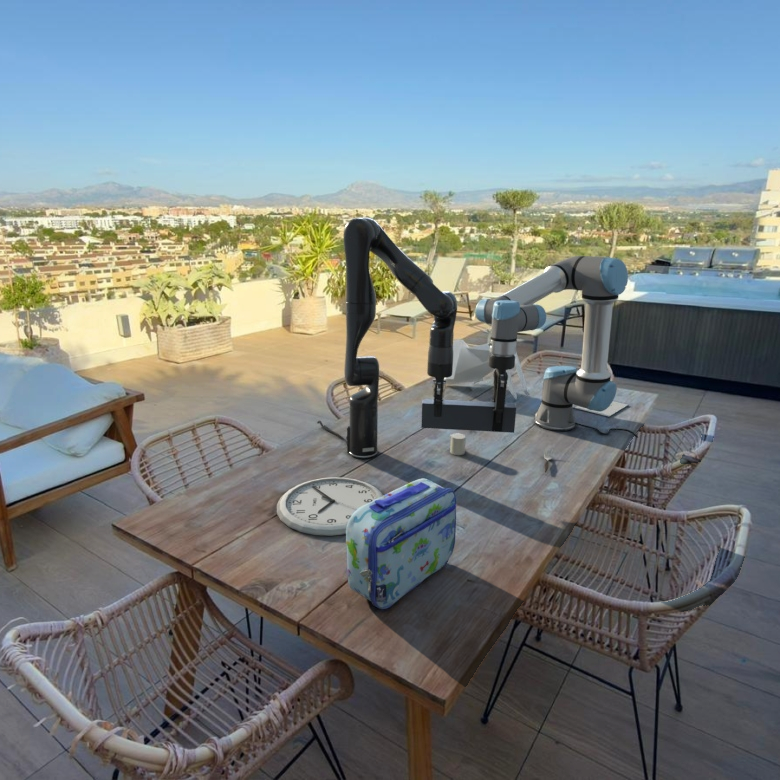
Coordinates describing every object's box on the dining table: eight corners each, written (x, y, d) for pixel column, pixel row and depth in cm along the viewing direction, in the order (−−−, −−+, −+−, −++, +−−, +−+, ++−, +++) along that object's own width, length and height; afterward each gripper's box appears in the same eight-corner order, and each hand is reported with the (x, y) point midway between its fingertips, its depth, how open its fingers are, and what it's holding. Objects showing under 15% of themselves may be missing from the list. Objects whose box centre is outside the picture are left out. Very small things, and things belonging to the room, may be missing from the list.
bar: (512, 427, 162) (514, 402, 159) (514, 432, 158) (516, 407, 155) (422, 422, 165) (423, 398, 163) (421, 427, 161) (422, 403, 158)
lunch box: (375, 622, 100) (376, 527, 94) (339, 595, 108) (338, 505, 101) (459, 565, 118) (465, 481, 112) (424, 545, 125) (427, 465, 119)
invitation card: (608, 416, 214) (573, 407, 224) (608, 416, 214) (573, 408, 224) (628, 404, 229) (594, 396, 238) (628, 405, 229) (594, 397, 238)
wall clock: (392, 527, 129) (268, 531, 127) (391, 533, 130) (269, 537, 127) (383, 473, 158) (282, 475, 155) (383, 478, 158) (282, 480, 156)
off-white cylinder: (464, 449, 180) (465, 433, 178) (464, 455, 175) (465, 439, 174) (450, 448, 181) (450, 432, 179) (449, 454, 176) (450, 438, 174)
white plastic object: (461, 429, 252) (437, 405, 227) (444, 352, 274) (420, 323, 250) (535, 404, 240) (518, 377, 215) (510, 326, 262) (492, 293, 237)
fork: (540, 473, 163) (541, 467, 163) (544, 453, 178) (545, 448, 177) (549, 474, 162) (550, 468, 162) (552, 454, 177) (553, 449, 176)
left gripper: (429, 353, 163) (426, 405, 168) (426, 365, 150) (424, 421, 155) (453, 354, 162) (450, 406, 167) (452, 366, 149) (449, 422, 154)
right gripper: (487, 347, 162) (482, 417, 169) (491, 360, 145) (485, 438, 152) (512, 348, 161) (506, 418, 168) (518, 361, 144) (511, 440, 151)
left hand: (437, 413), depth 161 cm, fingers closed on bar, 4 cm apart
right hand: (496, 428), depth 160 cm, fingers closed on bar, 4 cm apart
